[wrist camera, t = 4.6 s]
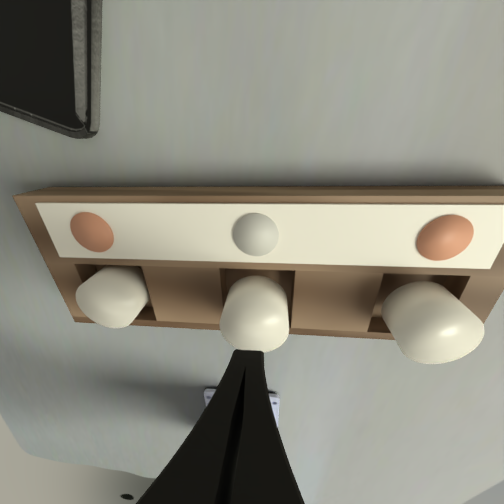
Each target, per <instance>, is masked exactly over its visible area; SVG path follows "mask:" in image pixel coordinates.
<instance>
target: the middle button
mask: <svg viewBox="0 0 504 504" xmlns="http://www.w3.org/2000/svg"><path fill="white" fill-rule="evenodd" d="M220 331H221V333H222V335H223V337H224V338H225V340H226V341H227V342H228V343H230V344H231V345H232V346H234V347H236V348H238V349H240V350H257V351H262V352H268V351H271V350H274V349H276V348H278V347H279V346H281V345H282V344H283V343H284V342H285V340H286V339H287V337H288V334H289V321H288V306H287V296H286V293H285V291H284V289H283V288H282V287H281V286H280V285H279V284H278V283H277V282H276V281H274V280H272V279H270V278H267V277H264V276H247V277H244V278H241V279H239V280H238V281H236V282H235V283H234V284H233V285H232V286H231V288H230V290H229V292H228V295H227V299H226V302H225V305H224V309H223V312H222V315H221V319H220Z"/></svg>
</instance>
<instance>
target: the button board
mask: <svg viewBox="0 0 504 504" xmlns="http://www.w3.org/2000/svg"><path fill="white" fill-rule="evenodd" d="M13 198H14V200H15V202H16V204H17V206H18V208H19V210H20V212H21V214H22V216H23V218H24V220H25V222H26V224H27V226H28V228H29V230H30V232H31V234H32V236H33V238H34V240H35V242H36V244H37V246H38V248H39V250H40V252H41V254H42V256H43V258H44V260H45V262H46V265H47V267H48V269H49V271H50V273H51V275H52V277H53V279H54V281H55V283H56V285H57V287H58V289H59V291H60V293H61V295H62V297H63V299H64V301H65V303H66V305H67V307H68V309H69V311H70V313H71V315H72V317H73V319H74V321H75V322H83V323H96V322H94V321H92V320H91V319H90V318H88V317H87V316H86V315H85V314H84V313H83V312H82V311H81V309H80V308H79V306H78V304H77V301H76V291H77V289H78V287H79V286H80V285H81V284H83V283H84V282H85V281H87V280H88V279H89V278H90V277H92V276H93V275H94V274H96V273H97V272H98V271H100V270H101V269H102V268H103V267H105V266H106V265H130V266H137V267H138V268H140V269H141V270H142V271H143V273H144V277H145V280H146V284H147V287H148V291H149V295H150V299H149V301H148V302H147V303H146V305H145V306H144V307H143V308H142V310H141V311H140V312H139V314H138V315H137V316H136V318H135V319H134V320H133V321H132V323H131V324H129V325H137V326H155V327H173V328H191V329H209V330H220V319H221V315H222V312H223V309H224V305H225V302H226V299H227V295H228V292H229V290H230V288H231V286H232V285H233V284H234V283H235V282H236V281H238V280H239V279H241V278H244V277H247V276H264V277H267V278H270V279H272V280H274V281H276V282H277V283H278V284H279V285H280V286H281V287H282V288H283V289H284V291H285V293H286V296H287V306H288V321H289V334H298V335H316V336H334V337H352V338H370V339H388V340H395V339H394V337H393V335H392V334H391V332H390V330H389V328H388V327H387V325H386V323H385V321H384V320H383V318H382V315H381V308H382V305H383V302H384V301H385V299H386V298H387V297H388V295H389V294H390V293H392V292H393V291H394V290H396V289H397V288H399V287H401V286H403V285H406V284H409V283H412V282H418V281H430V282H435V283H438V284H440V285H442V286H443V287H445V288H446V289H447V290H448V291H449V292H450V293H451V294H453V295H454V296H455V297H456V298H457V299H458V300H459V301H460V302H461V303H463V304H464V305H465V306H466V307H467V308H468V309H469V310H470V311H471V312H472V313H474V314H475V315H476V316H477V317H478V318H479V319H480V320H481V321H482V323H483V324H484V322H485V320H486V319H487V317H488V315H489V314H490V312H491V310H492V309H493V307H494V305H495V303H496V302H497V300H498V298H499V297H500V295H501V293H502V292H503V290H504V243H503V245H502V247H501V249H500V251H499V253H498V255H497V257H496V258H495V260H494V262H493V264H492V266H491V268H490V269H470V268H433V267H397V266H361V265H325V264H289V263H252V262H216V261H180V260H144V259H108V258H72V257H60V256H59V254H58V252H57V250H56V248H55V246H54V243H53V241H52V239H51V237H50V235H49V232H48V230H47V228H46V226H45V224H44V222H43V219H42V217H41V215H40V213H39V211H38V209H37V206H36V204H35V203H38V202H59V203H333V204H504V186H239V187H47V188H43V189H39V190H35V191H30V192H26V193H22V194H17V195H13Z"/></svg>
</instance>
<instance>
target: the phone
mask: <svg viewBox="0 0 504 504" xmlns="http://www.w3.org/2000/svg"><path fill="white" fill-rule="evenodd" d="M101 39H102V0H0V111H1V112H4V113H7V114H9V115H12V116H15V117H18V118H20V119H23V120H26V121H28V122H31V123H34V124H36V125H39V126H42V127H45V128H47V129H50V130H53V131H55V132H58V133H61V134H63V135H66V136H69V137H72V138H77V139H83V138H92V137H93V136H95V135H96V134H97V132H98V130H99V125H100V87H101Z"/></svg>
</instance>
